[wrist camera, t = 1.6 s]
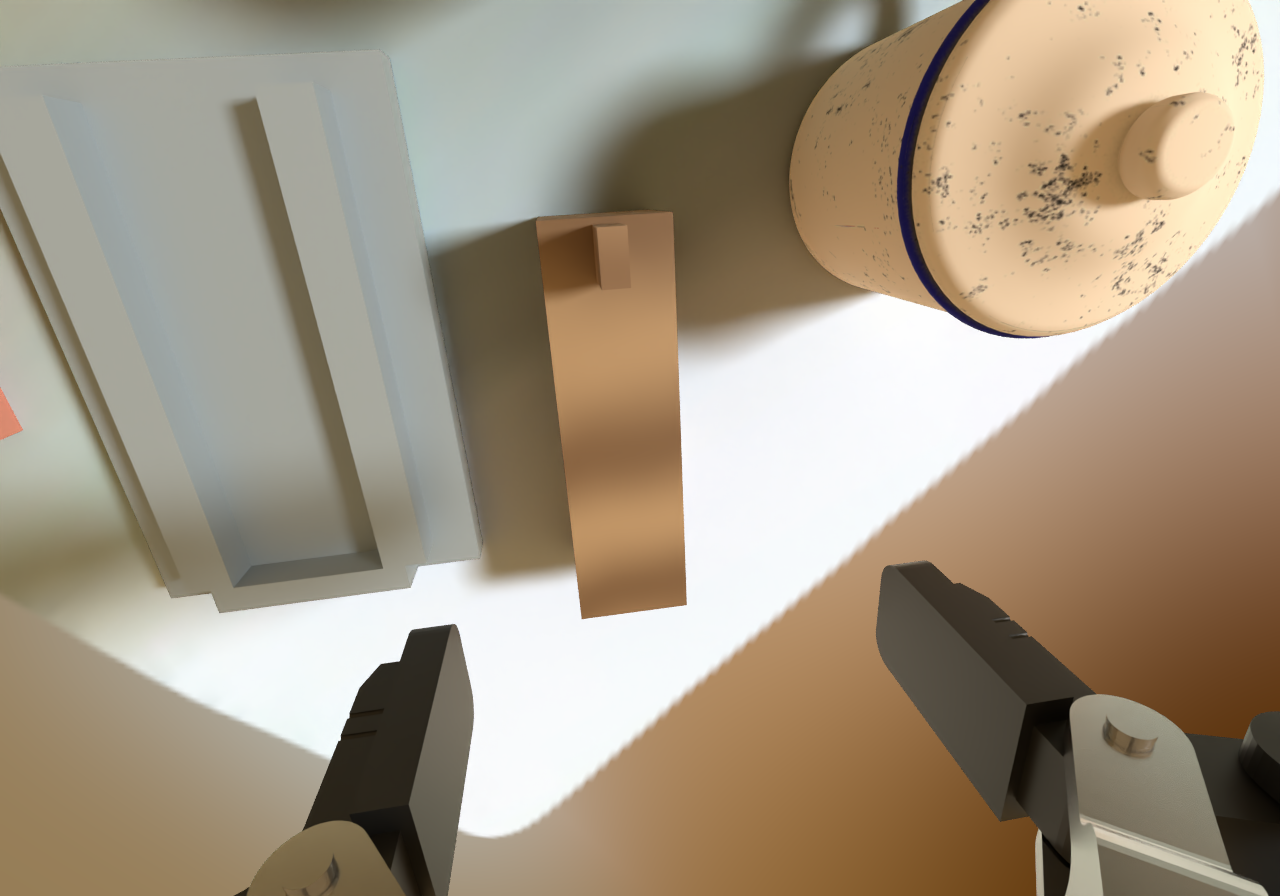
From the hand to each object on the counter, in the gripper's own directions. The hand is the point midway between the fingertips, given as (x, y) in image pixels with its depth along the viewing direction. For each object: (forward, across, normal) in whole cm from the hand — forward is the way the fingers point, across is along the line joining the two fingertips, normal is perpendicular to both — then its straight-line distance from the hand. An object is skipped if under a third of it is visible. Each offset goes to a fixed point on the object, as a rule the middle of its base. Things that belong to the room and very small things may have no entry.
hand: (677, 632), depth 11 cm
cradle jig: (+14, +12, -3) cm, 19 cm away
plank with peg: (+15, 0, 0) cm, 15 cm away
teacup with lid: (+15, -12, -9) cm, 21 cm away
